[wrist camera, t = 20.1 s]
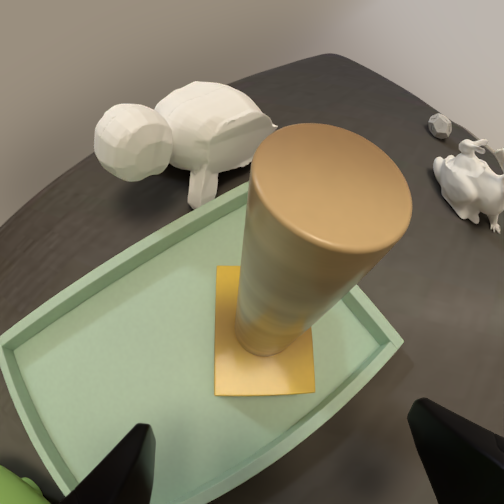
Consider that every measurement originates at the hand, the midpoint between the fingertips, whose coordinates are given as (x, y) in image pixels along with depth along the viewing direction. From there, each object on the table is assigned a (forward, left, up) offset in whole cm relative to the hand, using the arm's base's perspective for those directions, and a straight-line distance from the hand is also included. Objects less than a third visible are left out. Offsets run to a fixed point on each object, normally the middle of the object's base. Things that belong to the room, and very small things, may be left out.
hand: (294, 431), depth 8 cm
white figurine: (+28, 0, -9) cm, 30 cm away
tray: (-2, +5, -9) cm, 10 cm away
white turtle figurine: (+7, +18, -9) cm, 22 cm away
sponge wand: (+3, +4, -8) cm, 9 cm away
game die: (+39, +9, -9) cm, 41 cm away
